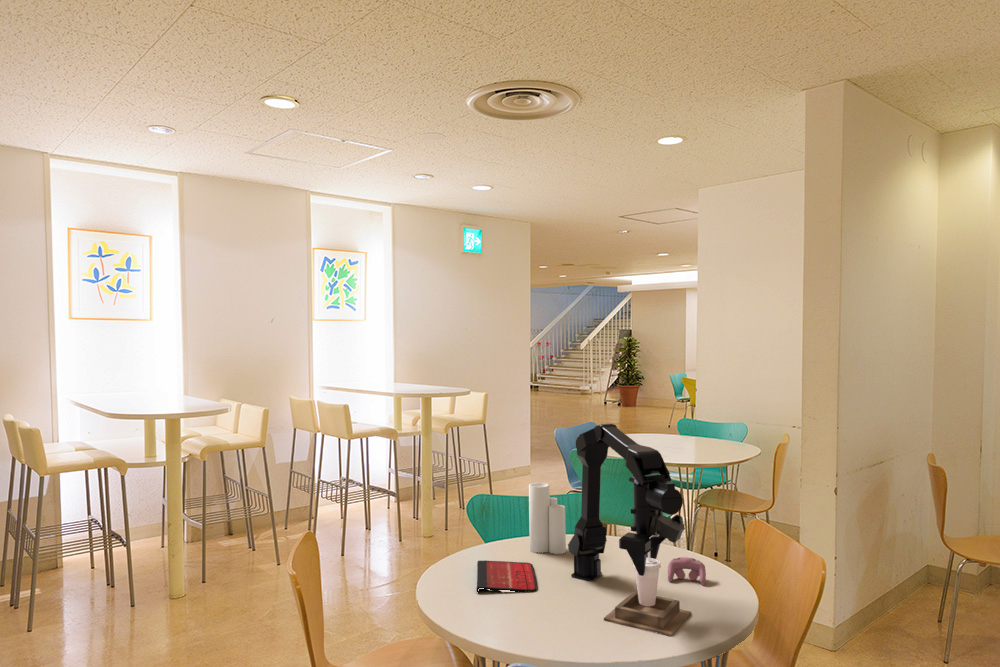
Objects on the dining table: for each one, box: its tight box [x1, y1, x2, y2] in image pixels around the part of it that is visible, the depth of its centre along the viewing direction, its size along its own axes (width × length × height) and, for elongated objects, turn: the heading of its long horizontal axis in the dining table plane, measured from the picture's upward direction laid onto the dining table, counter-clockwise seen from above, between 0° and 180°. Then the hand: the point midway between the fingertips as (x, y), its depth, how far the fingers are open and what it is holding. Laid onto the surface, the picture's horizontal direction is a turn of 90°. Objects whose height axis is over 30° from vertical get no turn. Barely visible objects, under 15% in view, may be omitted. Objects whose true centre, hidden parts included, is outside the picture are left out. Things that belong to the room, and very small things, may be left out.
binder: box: [476, 559, 538, 593], centre depth 181 cm, size 16×2×21 cm
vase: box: [528, 482, 567, 555], centre depth 205 cm, size 11×7×20 cm, turn 79°
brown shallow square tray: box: [603, 591, 692, 637], centre depth 155 cm, size 16×14×3 cm
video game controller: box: [667, 556, 707, 586], centre depth 178 cm, size 10×5×7 cm, turn 71°
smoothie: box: [632, 552, 662, 606], centre depth 155 cm, size 6×6×14 cm
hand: (646, 570), depth 155 cm, fingers closed on smoothie, 6 cm apart
